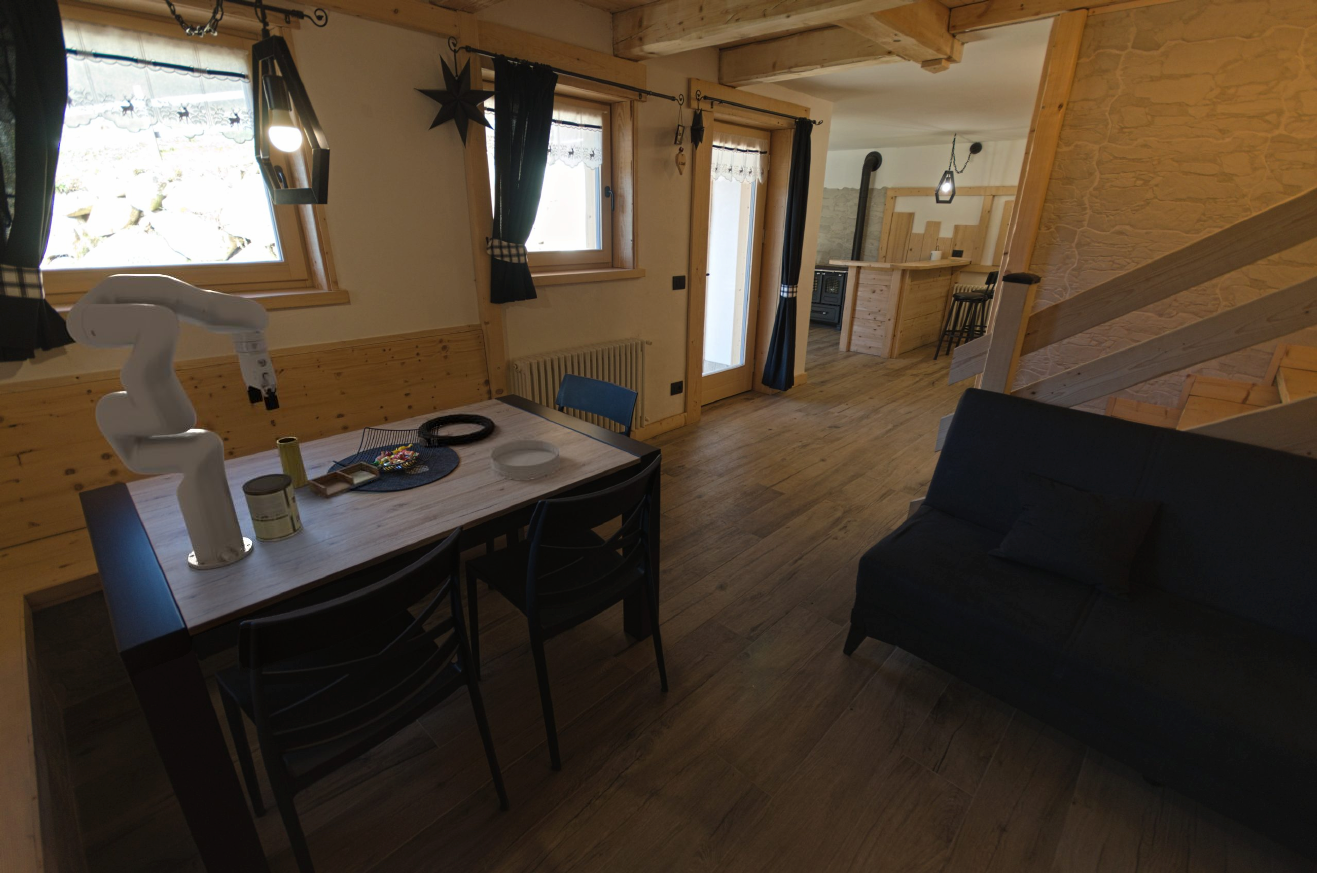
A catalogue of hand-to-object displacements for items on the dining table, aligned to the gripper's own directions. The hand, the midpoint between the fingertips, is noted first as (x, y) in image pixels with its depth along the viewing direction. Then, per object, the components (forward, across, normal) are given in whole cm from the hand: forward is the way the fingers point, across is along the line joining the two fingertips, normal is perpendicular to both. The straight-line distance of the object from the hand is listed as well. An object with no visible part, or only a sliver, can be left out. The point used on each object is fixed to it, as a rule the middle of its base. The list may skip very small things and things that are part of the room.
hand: (264, 405), depth 163 cm
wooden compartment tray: (+25, -14, -11) cm, 31 cm away
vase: (+25, -2, -3) cm, 26 cm away
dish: (+26, -46, -54) cm, 75 cm away
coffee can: (+25, -27, +13) cm, 39 cm away
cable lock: (+26, -4, -58) cm, 64 cm away
